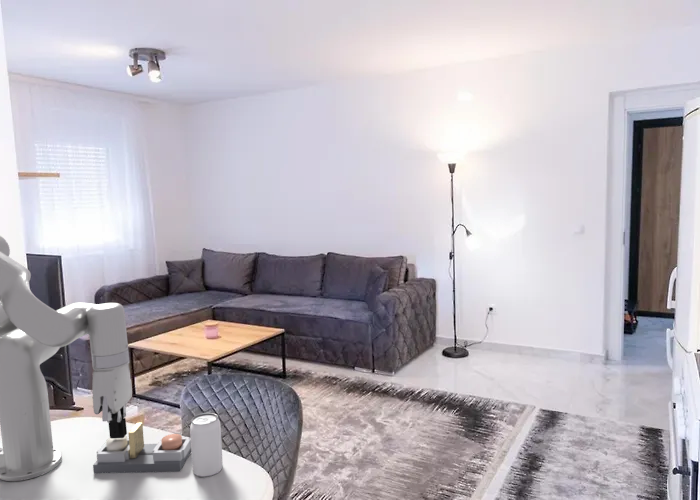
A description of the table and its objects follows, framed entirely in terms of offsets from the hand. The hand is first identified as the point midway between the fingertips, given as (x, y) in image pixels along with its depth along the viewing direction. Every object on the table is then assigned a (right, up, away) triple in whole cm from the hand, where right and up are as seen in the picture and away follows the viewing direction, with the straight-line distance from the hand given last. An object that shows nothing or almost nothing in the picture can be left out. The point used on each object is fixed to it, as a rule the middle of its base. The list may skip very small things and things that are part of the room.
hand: (118, 436), depth 119 cm
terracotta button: (+12, -2, 0) cm, 12 cm away
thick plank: (+4, -4, +1) cm, 6 cm away
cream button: (0, -3, 0) cm, 3 cm away
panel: (+6, -6, +1) cm, 8 cm away
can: (+21, -7, -3) cm, 22 cm away
